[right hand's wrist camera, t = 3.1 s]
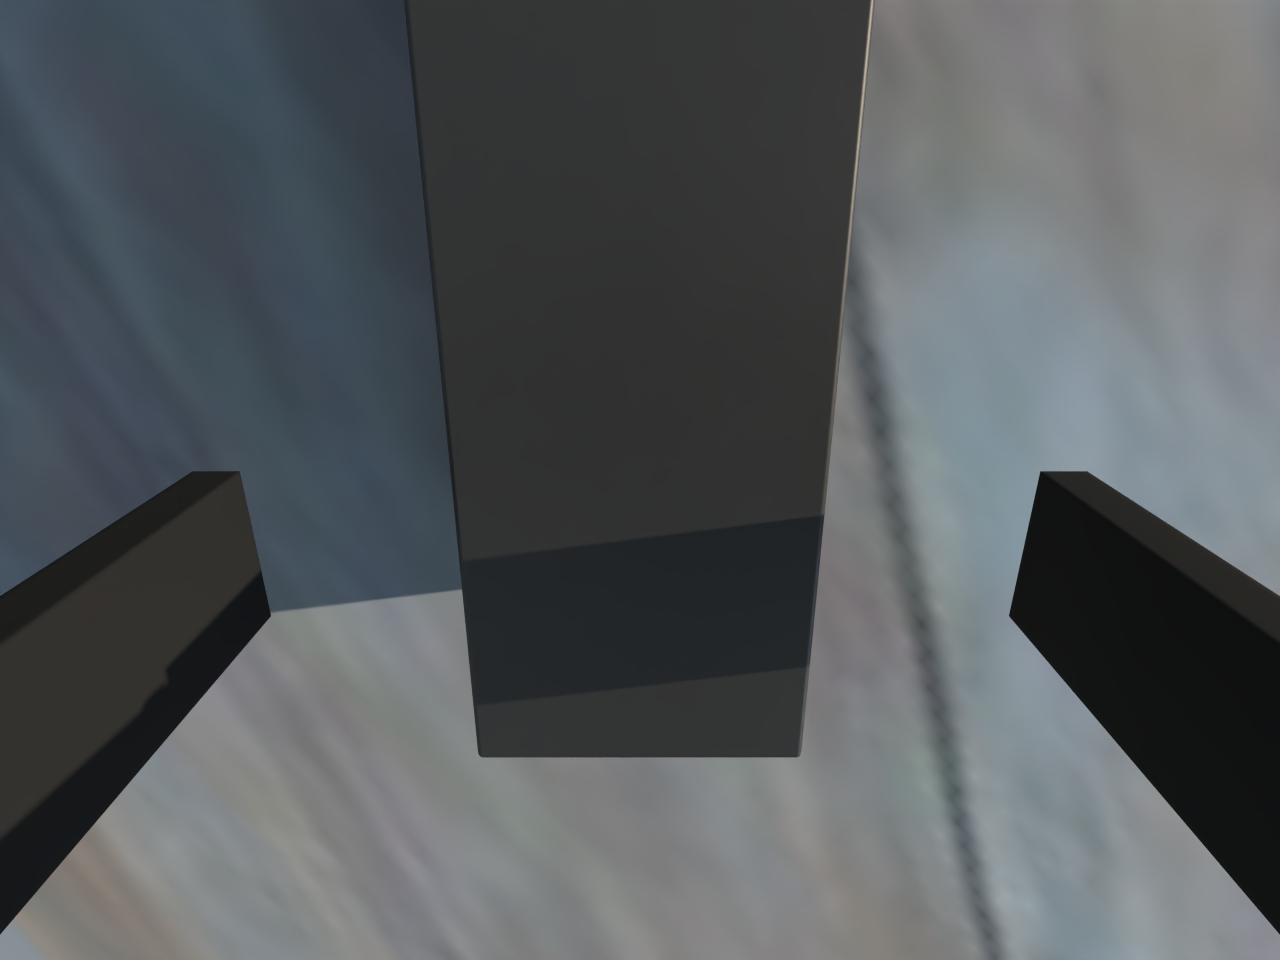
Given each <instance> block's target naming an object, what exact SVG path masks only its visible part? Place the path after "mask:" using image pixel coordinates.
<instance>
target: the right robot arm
mask: <svg viewBox="0 0 1280 960" xmlns="http://www.w3.org/2000/svg"><path fill="white" fill-rule="evenodd" d="M270 616H271V614H270V609H269V605H268V600H267V595H266V591H265V586H264V582H263V577H262V572H261V568H260V563H259V559H258V554H257V549H256V545H255V540H254V536H253V531H252V526H251V522H250V517H249V513H248V508H247V503H246V499H245V494H244V490H243V485H242V480H241V476H240V471H193V472H191V473H190V474H188V475H187V476H185V477H184V478H182V479H180V480H179V481H177V482H176V483H174V484H173V485H171V486H170V487H168V488H167V489H165V490H163V491H162V492H160V493H159V494H157V495H156V496H154V497H153V498H151V499H150V500H148V501H146V502H145V503H143V504H142V505H140V506H139V507H137V508H136V509H134V510H133V511H131V512H129V513H128V514H126V515H125V516H123V517H122V518H120V519H119V520H117V521H116V522H114V523H113V524H111V525H109V526H108V527H106V528H105V529H103V530H102V531H100V532H99V533H97V534H96V535H94V536H92V537H91V538H89V539H88V540H86V541H85V542H83V543H82V544H80V545H79V546H77V547H75V548H74V549H72V550H71V551H69V552H68V553H66V554H65V555H63V556H62V557H60V558H58V559H57V560H55V561H54V562H52V563H51V564H49V565H48V566H46V567H45V568H43V569H41V570H40V571H38V572H37V573H35V574H34V575H32V576H31V577H29V578H28V579H26V580H24V581H23V582H21V583H20V584H18V585H17V586H15V587H14V588H12V589H11V590H9V591H7V592H6V593H4V594H3V595H1V596H0V934H1V933H2V932H3V931H4V929H5V928H6V927H7V926H8V925H9V923H10V922H11V921H12V920H13V919H14V918H15V916H16V915H17V914H18V913H19V912H20V911H21V909H22V908H23V907H24V906H25V905H26V903H27V902H28V901H29V900H30V899H31V898H32V896H33V895H34V894H35V893H36V892H37V891H38V889H39V888H40V887H41V886H42V885H43V883H44V882H45V881H46V880H47V879H48V878H49V876H50V875H51V874H52V873H53V872H54V871H55V869H56V868H57V867H58V866H59V865H60V863H61V862H62V861H63V860H64V859H65V858H66V856H67V855H68V854H69V853H70V852H71V851H72V849H73V848H74V847H75V846H76V845H77V843H78V842H79V841H80V840H81V839H82V838H83V836H84V835H85V834H86V833H87V832H88V831H89V829H90V828H91V827H92V826H93V825H94V823H95V822H96V821H97V820H98V819H99V818H100V816H101V815H102V814H103V813H104V812H105V811H106V809H107V808H108V807H109V806H110V805H111V803H112V802H113V801H114V800H115V799H116V798H117V796H118V795H119V794H120V793H121V792H122V791H123V789H124V788H125V787H126V786H127V785H128V783H129V782H130V781H131V780H132V779H133V778H134V776H135V775H136V774H137V773H138V772H139V771H140V769H141V768H142V767H143V766H144V765H145V764H146V762H147V761H148V760H149V759H150V758H151V756H152V755H153V754H154V753H155V752H156V751H157V749H158V748H159V747H160V746H161V745H162V744H163V742H164V741H165V740H166V739H167V738H168V736H169V735H170V734H171V733H172V732H173V731H174V729H175V728H176V727H177V726H178V725H179V724H180V722H181V721H182V720H183V719H184V718H185V716H186V715H187V714H188V713H189V712H190V711H191V709H192V708H193V707H194V706H195V705H196V704H197V702H198V701H199V700H200V699H201V698H202V696H203V695H204V694H205V693H206V692H207V691H208V689H209V688H210V687H211V686H212V685H213V684H214V682H215V681H216V680H217V679H218V678H219V676H220V675H221V674H222V673H223V672H224V671H225V669H226V668H227V667H228V666H229V665H230V664H231V662H232V661H233V660H234V659H235V658H236V656H237V655H238V654H239V653H240V652H241V651H242V649H243V648H244V647H245V646H246V645H247V644H248V642H249V641H250V640H251V639H252V638H253V636H254V635H255V634H256V633H257V632H258V631H259V629H260V628H261V627H262V626H263V625H264V624H265V622H266V621H267V620H268V619H269V618H270ZM1009 616H1010V618H1011V619H1012V620H1013V621H1014V622H1015V624H1016V625H1017V626H1018V627H1019V628H1020V629H1021V631H1022V632H1023V633H1024V634H1025V635H1026V636H1027V638H1028V639H1029V640H1030V641H1031V642H1032V644H1033V645H1034V646H1035V647H1036V648H1037V649H1038V651H1039V652H1040V653H1041V654H1042V655H1043V656H1044V658H1045V659H1046V660H1047V661H1048V662H1049V664H1050V665H1051V666H1052V667H1053V668H1054V669H1055V671H1056V672H1057V673H1058V674H1059V675H1060V676H1061V678H1062V679H1063V680H1064V681H1065V682H1066V684H1067V685H1068V686H1069V687H1070V688H1071V689H1072V691H1073V692H1074V693H1075V694H1076V695H1077V696H1078V698H1079V699H1080V700H1081V701H1082V702H1083V704H1084V705H1085V706H1086V707H1087V708H1088V709H1089V711H1090V712H1091V713H1092V714H1093V715H1094V716H1095V718H1096V719H1097V720H1098V721H1099V722H1100V724H1101V725H1102V726H1103V727H1104V728H1105V729H1106V731H1107V732H1108V733H1109V734H1110V735H1111V736H1112V738H1113V739H1114V740H1115V741H1116V742H1117V744H1118V745H1119V746H1120V747H1121V748H1122V749H1123V751H1124V752H1125V753H1126V754H1127V755H1128V756H1129V758H1130V759H1131V760H1132V761H1133V762H1134V764H1135V765H1136V766H1137V767H1138V768H1139V769H1140V771H1141V772H1142V773H1143V774H1144V775H1145V776H1146V778H1147V779H1148V780H1149V781H1150V782H1151V783H1152V785H1153V786H1154V787H1155V788H1156V789H1157V791H1158V792H1159V793H1160V794H1161V795H1162V796H1163V798H1164V799H1165V800H1166V801H1167V802H1168V803H1169V805H1170V806H1171V807H1172V808H1173V809H1174V811H1175V812H1176V813H1177V814H1178V815H1179V816H1180V818H1181V819H1182V820H1183V821H1184V822H1185V823H1186V825H1187V826H1188V827H1189V828H1190V829H1191V831H1192V832H1193V833H1194V834H1195V835H1196V836H1197V838H1198V839H1199V840H1200V841H1201V842H1202V843H1203V845H1204V846H1205V847H1206V848H1207V849H1208V851H1209V852H1210V853H1211V854H1212V855H1213V856H1214V858H1215V859H1216V860H1217V861H1218V862H1219V863H1220V865H1221V866H1222V867H1223V868H1224V869H1225V871H1226V872H1227V873H1228V874H1229V875H1230V876H1231V878H1232V879H1233V880H1234V881H1235V882H1236V883H1237V885H1238V886H1239V887H1240V888H1241V889H1242V891H1243V892H1244V893H1245V894H1246V895H1247V896H1248V898H1249V899H1250V900H1251V901H1252V902H1253V903H1254V905H1255V906H1256V907H1257V908H1258V909H1259V911H1260V912H1261V913H1262V914H1263V915H1264V916H1265V918H1266V919H1267V920H1268V921H1269V922H1270V923H1271V925H1272V926H1273V927H1274V928H1275V929H1276V931H1277V932H1278V933H1279V934H1280V596H1279V595H1277V594H1276V593H1274V592H1273V591H1271V590H1269V589H1268V588H1266V587H1265V586H1263V585H1262V584H1260V583H1259V582H1257V581H1256V580H1254V579H1252V578H1251V577H1249V576H1248V575H1246V574H1245V573H1243V572H1242V571H1240V570H1239V569H1237V568H1235V567H1234V566H1232V565H1231V564H1229V563H1228V562H1226V561H1225V560H1223V559H1222V558H1220V557H1218V556H1217V555H1215V554H1214V553H1212V552H1211V551H1209V550H1208V549H1206V548H1205V547H1203V546H1201V545H1200V544H1198V543H1197V542H1195V541H1194V540H1192V539H1191V538H1189V537H1188V536H1186V535H1184V534H1183V533H1181V532H1180V531H1178V530H1177V529H1175V528H1174V527H1172V526H1171V525H1169V524H1167V523H1166V522H1164V521H1163V520H1161V519H1160V518H1158V517H1157V516H1155V515H1154V514H1152V513H1151V512H1149V511H1147V510H1146V509H1144V508H1143V507H1141V506H1140V505H1138V504H1137V503H1135V502H1134V501H1132V500H1130V499H1129V498H1127V497H1126V496H1124V495H1123V494H1121V493H1120V492H1118V491H1117V490H1115V489H1113V488H1112V487H1110V486H1109V485H1107V484H1106V483H1104V482H1103V481H1101V480H1100V479H1098V478H1096V477H1095V476H1093V475H1092V474H1090V473H1089V472H1087V471H1040V476H1039V480H1038V485H1037V490H1036V494H1035V499H1034V503H1033V508H1032V513H1031V517H1030V522H1029V526H1028V531H1027V536H1026V540H1025V545H1024V549H1023V554H1022V559H1021V563H1020V568H1019V572H1018V577H1017V582H1016V586H1015V591H1014V595H1013V600H1012V605H1011V609H1010V614H1009Z"/></svg>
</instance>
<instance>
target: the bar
mask: <svg viewBox="0 0 1280 960" xmlns="http://www.w3.org/2000/svg"><path fill="white" fill-rule="evenodd" d="M404 3H405V13H406V23H407V34H408V44H409V54H410V64H411V74H412V84H413V95H414V105H415V115H416V125H417V135H418V145H419V156H420V166H421V176H422V186H423V196H424V206H425V217H426V227H427V237H428V247H429V257H430V267H431V278H432V288H433V298H434V308H435V318H436V328H437V339H438V349H439V359H440V369H441V379H442V389H443V400H444V410H445V420H446V430H447V440H448V450H449V461H450V471H451V481H452V491H453V501H454V511H455V522H456V532H457V542H458V552H459V562H460V572H461V583H462V593H463V603H464V613H465V623H466V633H467V644H468V654H469V664H470V674H471V684H472V694H473V705H474V715H475V725H476V735H477V745H478V753H479V755H480V756H481V757H799V756H800V754H801V748H802V738H803V728H804V717H805V707H806V697H807V687H808V677H809V666H810V656H811V646H812V636H813V626H814V615H815V605H816V595H817V585H818V574H819V564H820V554H821V544H822V534H823V523H824V513H825V503H826V493H827V483H828V472H829V462H830V452H831V442H832V432H833V421H834V411H835V401H836V391H837V380H838V370H839V360H840V350H841V340H842V329H843V319H844V309H845V299H846V289H847V278H848V268H849V258H850V248H851V238H852V227H853V217H854V207H855V197H856V186H857V176H858V166H859V156H860V146H861V135H862V125H863V115H864V105H865V95H866V84H867V74H868V64H869V54H870V44H871V33H872V23H873V13H874V3H875V0H404Z"/></svg>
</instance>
